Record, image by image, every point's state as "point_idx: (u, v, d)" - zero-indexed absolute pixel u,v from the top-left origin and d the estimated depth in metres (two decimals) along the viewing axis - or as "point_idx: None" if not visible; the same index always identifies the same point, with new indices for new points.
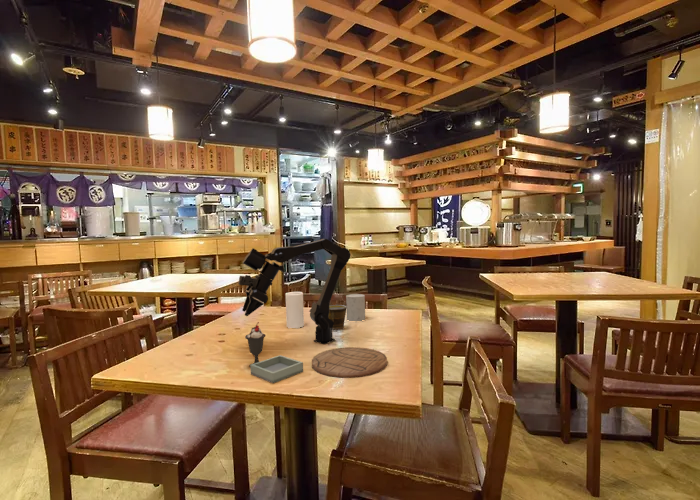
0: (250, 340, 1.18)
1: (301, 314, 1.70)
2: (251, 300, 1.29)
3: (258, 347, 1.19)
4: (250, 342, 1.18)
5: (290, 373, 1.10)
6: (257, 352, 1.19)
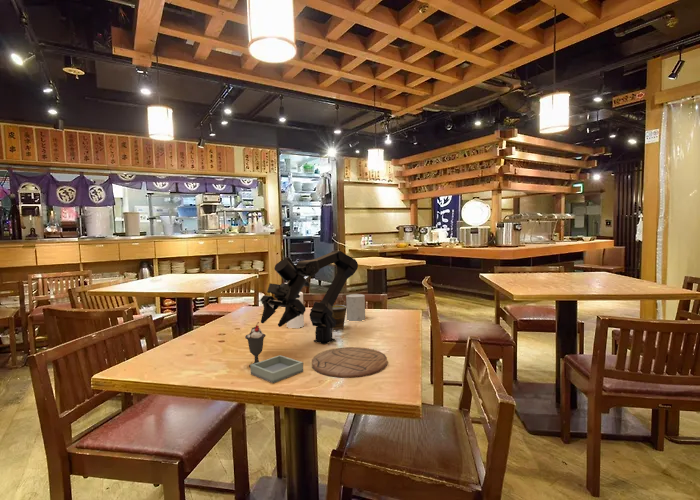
0: (250, 340, 1.18)
1: None
2: (289, 310, 1.23)
3: (258, 347, 1.19)
4: (250, 342, 1.18)
5: (290, 373, 1.10)
6: (257, 352, 1.19)
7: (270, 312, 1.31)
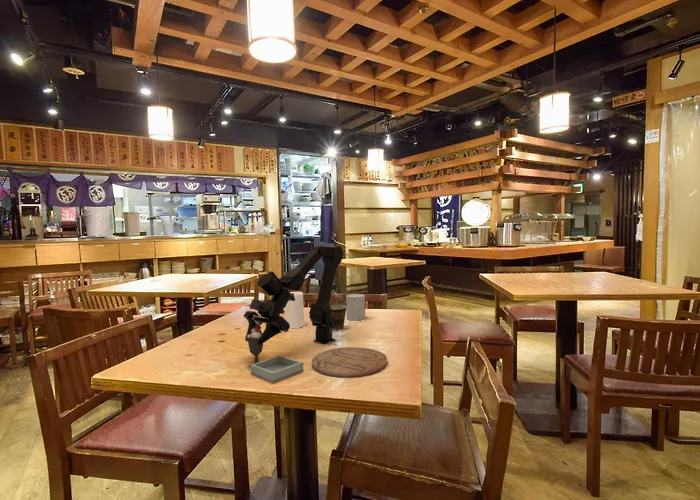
0: (250, 340, 1.18)
1: (301, 314, 1.70)
2: (269, 327, 1.18)
3: (258, 347, 1.19)
4: (250, 342, 1.18)
5: (290, 373, 1.10)
6: (257, 352, 1.19)
7: None
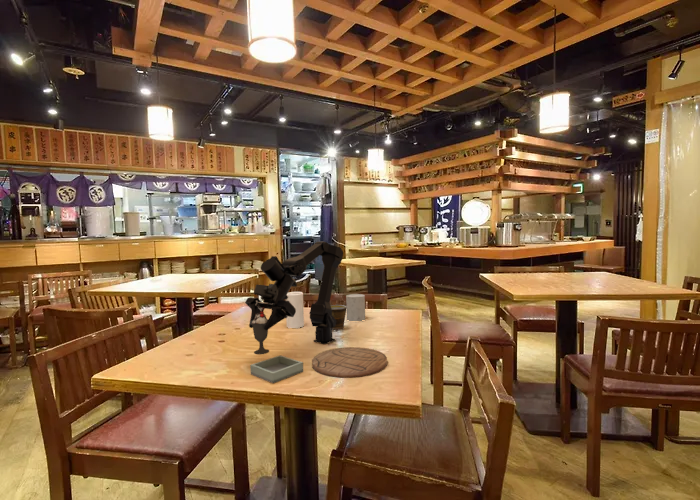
0: (255, 326, 1.15)
1: (301, 314, 1.70)
2: (276, 312, 1.16)
3: (264, 333, 1.16)
4: (255, 328, 1.15)
5: (290, 373, 1.10)
6: (263, 338, 1.16)
7: None
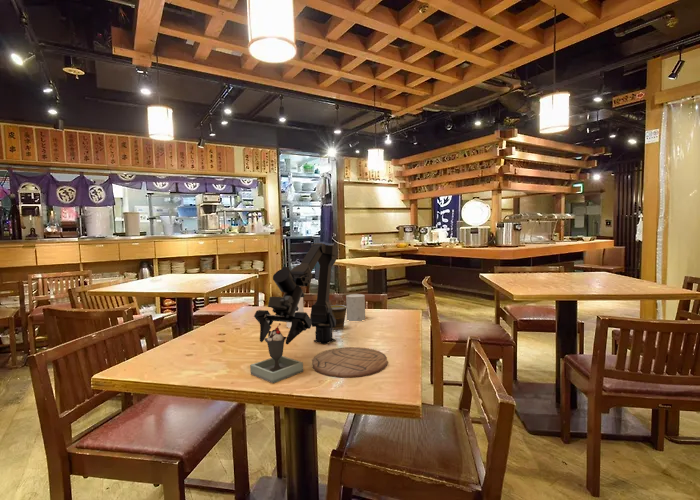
0: (273, 343, 1.11)
1: None
2: (296, 325, 1.12)
3: (280, 350, 1.12)
4: (272, 346, 1.11)
5: (290, 373, 1.10)
6: (279, 356, 1.12)
7: (267, 328, 1.17)
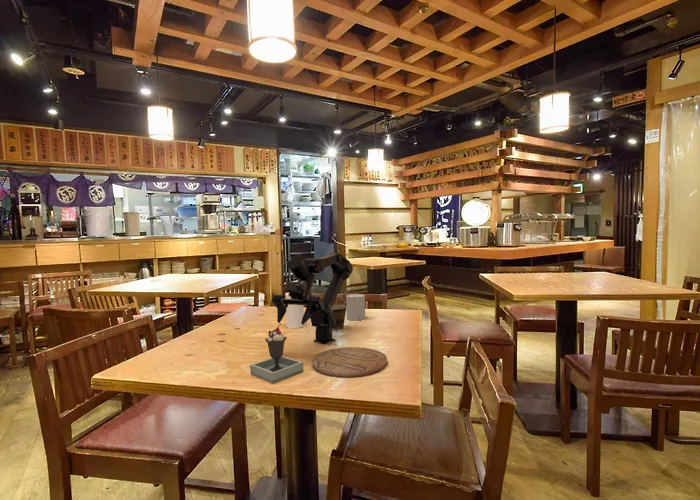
0: (273, 343, 1.11)
1: (301, 314, 1.70)
2: (311, 307, 1.24)
3: (281, 350, 1.12)
4: (273, 346, 1.11)
5: (290, 373, 1.10)
6: (279, 356, 1.12)
7: (283, 311, 1.29)
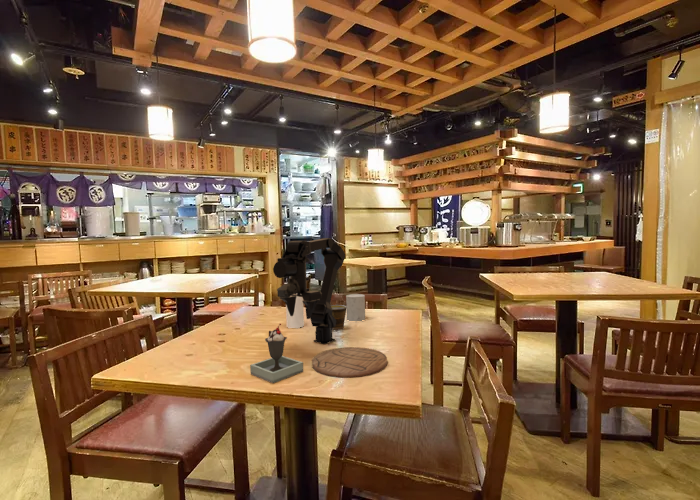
0: (273, 344, 1.11)
1: (301, 314, 1.70)
2: (308, 304, 1.27)
3: (281, 350, 1.12)
4: (273, 346, 1.11)
5: (290, 373, 1.10)
6: (279, 356, 1.12)
7: (292, 301, 1.37)
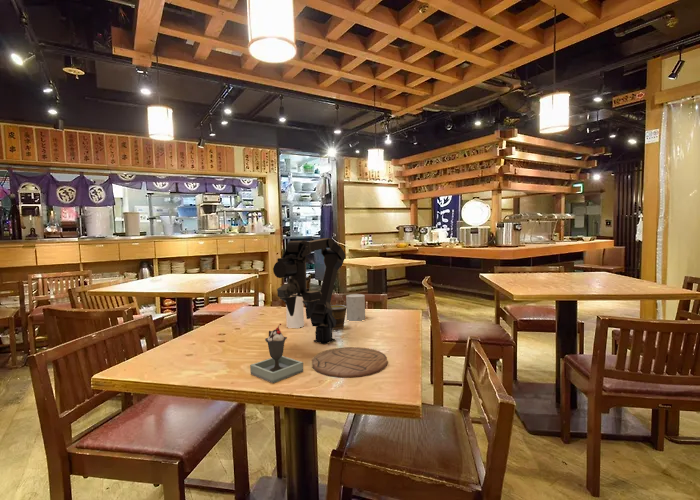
0: (273, 343, 1.11)
1: (301, 314, 1.70)
2: (308, 304, 1.27)
3: (281, 350, 1.12)
4: (273, 346, 1.11)
5: (290, 373, 1.10)
6: (279, 356, 1.12)
7: (292, 301, 1.37)
